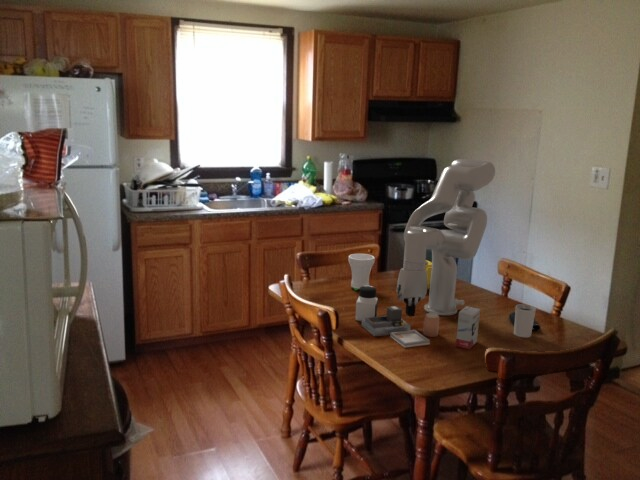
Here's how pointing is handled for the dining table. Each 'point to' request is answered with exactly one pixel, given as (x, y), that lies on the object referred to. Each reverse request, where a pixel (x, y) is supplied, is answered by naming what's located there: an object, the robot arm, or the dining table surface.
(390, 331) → the breaker panel
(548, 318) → the dining table surface
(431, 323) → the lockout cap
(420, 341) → the pad
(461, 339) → the ink box
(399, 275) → the robot arm
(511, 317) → the electronic device
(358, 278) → the cup
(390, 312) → the toggle
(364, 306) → the medicine bottle
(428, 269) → the teapot
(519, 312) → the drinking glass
